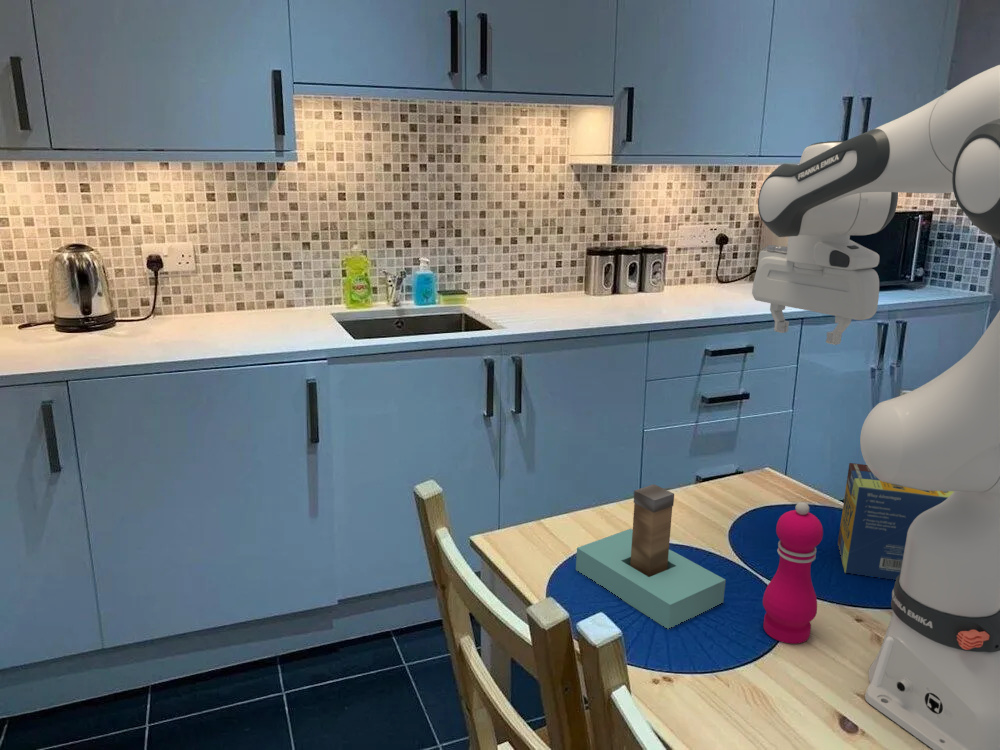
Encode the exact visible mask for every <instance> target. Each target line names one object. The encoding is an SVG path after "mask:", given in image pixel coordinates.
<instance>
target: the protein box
mask: <svg viewBox="0 0 1000 750" xmlns="http://www.w3.org/2000/svg"><path fill="white" fill-rule="evenodd" d="M844 490H845V492H844V499H843V505H842V514H841V518H840V526H839V532H838V539H837V547H838V546H839V547H838V550H840V551H839V555H841V556H840V559H841V563H842V567H843V571H844V574H846V573H851V574H850V575H853V574H859V575H865V576H864V577H866V576H873V577H880V578H886V579H885V580H887V579H893V580H892V581H894V579H895V580H896V578H897V576H898V575H900V573H901V567H902V561H903V555H904V550H905V544H906V538H907V532H908V529H909V527H910V525H911V524H912V522H913V521H914V519H915V518H916V517H917V516H918V515H920V514H921V513H923V512H924V511H926V510H928V509H930V508H932V507H934V506H936V505H938V504H940V503H942V502H943V501H945V500H946V499H947V498H948V497H949V496H950V495H951V494H952V493H953V492H954V491H925V490H918V489H913V488H908V487H903V486H899V485H895V484H891V483H887V482H883V481H881V480H879V479H878V478H877V477H876V476H875V475H874V474H873V473H872V472H871V470H870V469H869V468H868V466H867V464H862V463H854V462H853V463H852V462H849V463H848V470H847V477H846V484H845V489H844ZM859 575H858V576H859ZM873 577H872V578H873ZM880 578H879V579H880Z"/></svg>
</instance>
